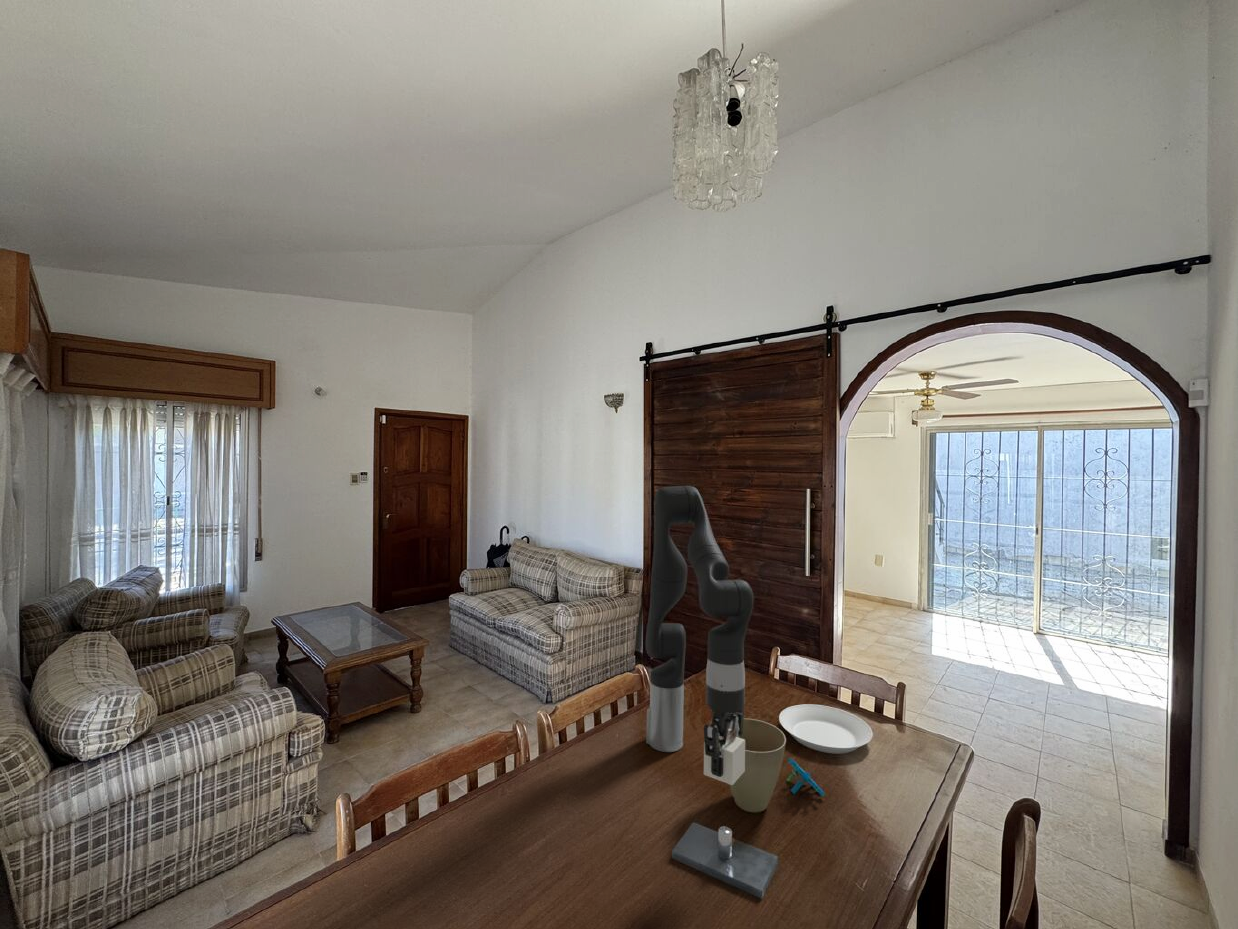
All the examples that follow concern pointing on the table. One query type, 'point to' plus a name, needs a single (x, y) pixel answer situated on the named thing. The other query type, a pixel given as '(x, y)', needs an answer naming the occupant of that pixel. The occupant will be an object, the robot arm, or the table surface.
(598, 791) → the table surface
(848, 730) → the bowl
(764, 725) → the plant pot
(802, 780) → the gear
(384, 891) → the table surface
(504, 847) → the table surface
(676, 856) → the panel
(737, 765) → the white and orange block
